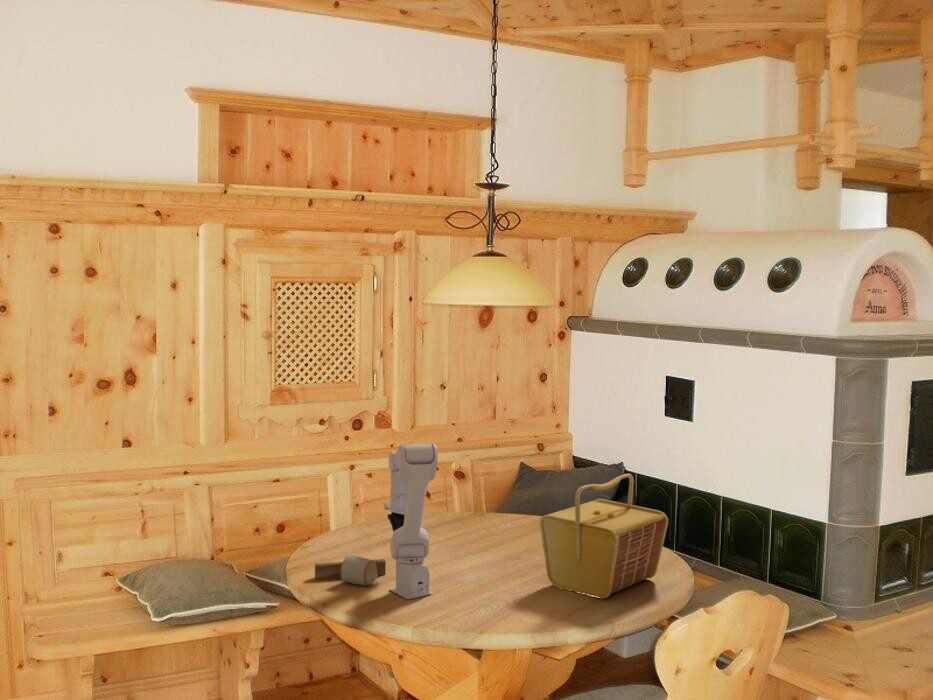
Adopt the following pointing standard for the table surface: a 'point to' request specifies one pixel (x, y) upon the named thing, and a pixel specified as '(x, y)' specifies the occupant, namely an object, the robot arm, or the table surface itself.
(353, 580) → the ceramic mug
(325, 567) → the rail
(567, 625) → the table surface
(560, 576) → the picnic basket
